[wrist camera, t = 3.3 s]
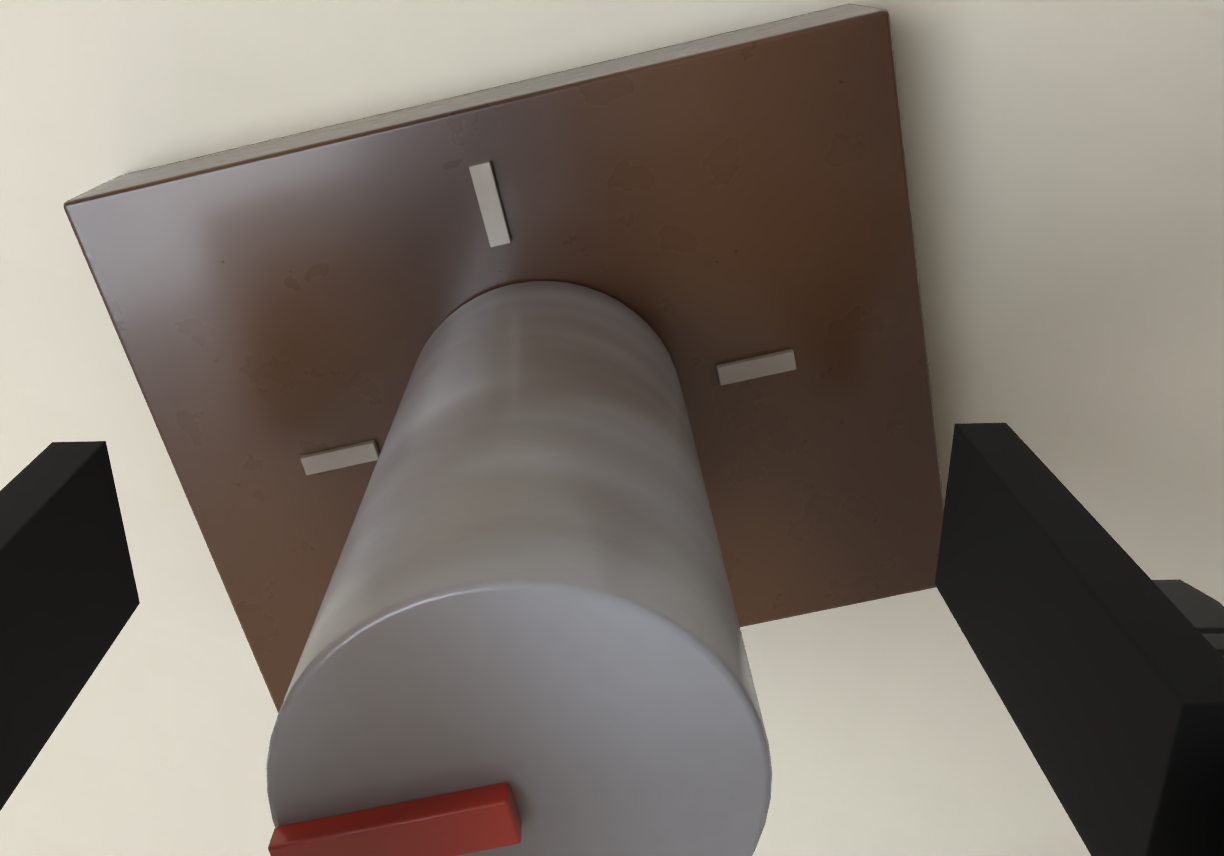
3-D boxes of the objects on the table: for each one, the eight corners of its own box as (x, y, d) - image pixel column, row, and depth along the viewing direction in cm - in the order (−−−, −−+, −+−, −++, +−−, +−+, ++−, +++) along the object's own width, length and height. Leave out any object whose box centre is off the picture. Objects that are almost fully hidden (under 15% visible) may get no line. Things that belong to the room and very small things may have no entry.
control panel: (853, 2, 20) (892, 9, 17) (917, 525, 24) (956, 590, 22) (116, 175, 21) (55, 205, 18) (307, 651, 25) (278, 727, 22)
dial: (652, 250, 19) (729, 549, 9) (705, 502, 21) (813, 958, 11) (372, 314, 19) (175, 662, 10) (450, 556, 21) (350, 1042, 12)
